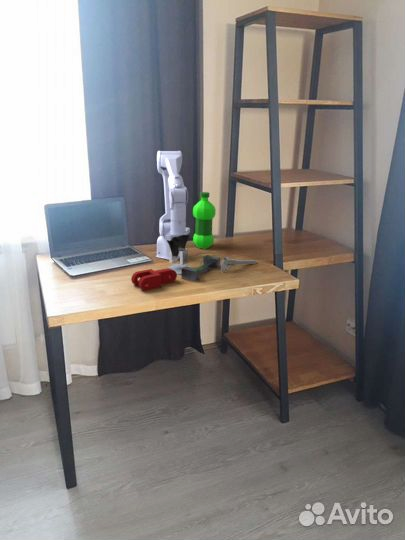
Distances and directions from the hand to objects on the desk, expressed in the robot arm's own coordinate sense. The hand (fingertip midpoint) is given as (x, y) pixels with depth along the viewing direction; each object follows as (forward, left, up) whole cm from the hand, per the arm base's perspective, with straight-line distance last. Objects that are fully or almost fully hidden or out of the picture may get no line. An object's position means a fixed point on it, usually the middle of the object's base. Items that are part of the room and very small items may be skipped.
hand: (177, 254), depth 175 cm
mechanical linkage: (+2, -18, -7) cm, 19 cm away
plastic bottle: (-7, +33, -6) cm, 34 cm away
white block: (0, 0, -3) cm, 3 cm away
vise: (+9, +2, -6) cm, 12 cm away
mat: (0, 0, -6) cm, 6 cm away
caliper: (+19, +16, -7) cm, 26 cm away
